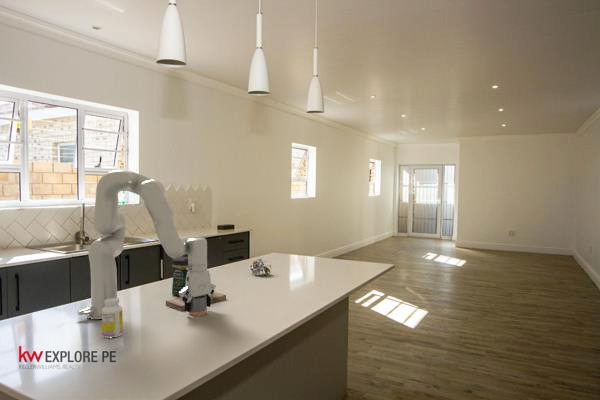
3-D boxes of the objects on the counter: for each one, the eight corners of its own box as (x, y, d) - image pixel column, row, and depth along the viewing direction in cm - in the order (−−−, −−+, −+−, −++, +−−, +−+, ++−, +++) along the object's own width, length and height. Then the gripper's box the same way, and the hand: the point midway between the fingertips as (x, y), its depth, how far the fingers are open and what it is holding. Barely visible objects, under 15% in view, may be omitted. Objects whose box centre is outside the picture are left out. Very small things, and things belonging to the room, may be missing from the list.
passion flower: (255, 284, 242) (243, 268, 243) (264, 277, 251) (253, 261, 252) (267, 276, 236) (255, 259, 237) (276, 269, 246) (265, 252, 247)
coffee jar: (169, 295, 197) (168, 257, 197) (180, 291, 205) (180, 254, 204) (185, 297, 193) (184, 258, 193) (195, 293, 201) (195, 256, 200)
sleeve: (195, 316, 165) (195, 299, 165) (186, 313, 170) (186, 296, 170) (209, 313, 170) (209, 296, 170) (200, 309, 175) (199, 293, 175)
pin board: (180, 310, 173) (180, 306, 173) (165, 305, 181) (165, 300, 181) (226, 299, 191) (226, 294, 191) (210, 294, 199) (210, 290, 199)
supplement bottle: (117, 330, 149) (116, 296, 149) (126, 335, 145) (125, 299, 145) (98, 336, 144) (97, 299, 144) (107, 340, 140) (106, 303, 139)
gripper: (184, 272, 161) (185, 315, 161) (220, 266, 174) (220, 306, 174) (174, 269, 165) (174, 311, 166) (209, 263, 178) (209, 302, 179)
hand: (198, 308), depth 170 cm, fingers open, 9 cm apart
